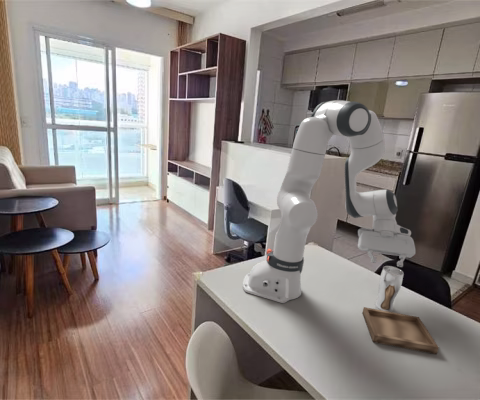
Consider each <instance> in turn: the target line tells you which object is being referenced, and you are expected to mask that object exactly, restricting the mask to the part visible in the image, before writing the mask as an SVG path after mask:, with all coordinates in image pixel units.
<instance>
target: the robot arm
mask: <svg viewBox="0 0 480 400" xmlns="http://www.w3.org/2000/svg"><path fill="white" fill-rule="evenodd" d="M333 136H342V137H343V136H344V137H348V141H349V145H350V155H349V156H348V157H347V158H346V159H345V161H344V185H345V187H344V188H345V203H344V205H345V208H344V209H345V211H346V213H347V215H349V216H350V217H352V218H354V219H358V218H364V217H372V228H367V227H361V228H359V229H358V230H357V236H358V240H357V242H358V243H357V248H358V250H360V251H364V252H367V255H368V257H369V258H370V263H373V264H376V263H377V257H375V255H374V254H373V253H375V254H382V255H391V256H397V257H398V256H399V257H398V258H399V259H400V260H398V261H396V266H397V268H398V267H399V268H403V267H404V261H405V259H406V258H412V257H413V256H415V255H416V253H417V252H416V245H415V241H414V238H413V237H412V236H411V235H412V231H411V230H410V229H408V228H406V227H403V226H401V225H399V224H398V222H397V220H396V216H397V212H398V211H399V209H398V208H399V207H398V199H397V198H398V197H397V195H396V193H394V192H393V191H391V190H390V189H378V190H377V189H376V190H371V191H364V192H363V191H362V192H359V191H357V176H359V174H360V173H362V172H364V171H365V170H367V169H370V168H371V167H373V166H375V165H376V164H377V163H378V162H380V160H381V159H382V158H383V157H384V156H385V152H386V144H385V137H384V133H383V129H382V125H381V123H380V120H379V118H378V116H377V114H376V113H375V112H374V111H373V110H370V109H368V107H367V106H366V105H364V103H361V102H358V101H354V100H353V101H349V100H343V99H336V100H326V101H325V100H324V101H323V102H320V103H319V104H318V105H317V106H316V107H315V108H314V109H313V111H312V113H311V115H310V116H309V117H306V118H305V119H303V120H302V121H301V122H300V124H299V127H298V129H297V132H296V134H295V138H294V140H293V144H292V148H291V152H290V156H289V157H290V158H289V161H288V166H287V170H286V172H285V175H284V178H283V181H282V183H281V187H280V189H279V191H278V192H277V193H278V194H277V196H276V202H277V203H276V204H277V207H278V209H279V211H280V213H281V218H280V223H279V226H278V229H277V231H276V233H275V238H274V243H273V250H272V249H271V248H268V249H266V259H265V260H262V261H260V262H258V263H256V264H254V265H253V267H252V268H251V270H250V272H248V273H246V274H245V276H243V277H244V278H243V280H242V289H243V290H244V292H246V293H248V294H251V295H255V296H258V297H260V298H264V299H268V300H271V301H274V302H278V303H281V304H285V303H287V302H289V301H290V300H294V299H297V298H299V297H301V295H302V292H303V291H302V283H301V282H302V281H301V277H302V276H301V275H302V274H301V273H302V272H303V268H304V261H305V259H304V253H305V246H306V242H307V238H308V235H309V233H310V231H311V228H312V227H313V226H314V225H315V224H316V222H317V220H318V217H319V213H318V209H317V206H316V203H315V201H314V200H313V199H311V191H312V190H313V188H314V185H315V184H316V182H317V181H318V179H320V176H321V173H322V169H323V166H324V161H325V157H326V153H327V148H328V144H329V141H330V140H331V138H332V137H333Z"/></svg>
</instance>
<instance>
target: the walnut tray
mask: <svg viewBox="0 0 480 400" xmlns="http://www.w3.org/2000/svg"><path fill="white" fill-rule="evenodd" d="M361 314H362V316H363V318H364V322H365V324H366V328H367V330H368V332H369V335H370V338H371V342H372V343H375V344H382V345H386V346H392V347H396V348H400V349H401V348H402V349H407V350H410V351H416V352H422V353H425V354H433V355H437V353H438V351H439V349H440V347H439V345H438V344H437V342H436V341H435V339H434V338H433V336H432V335H431V333H430V332H429V330H428V329H427V326H425V324H424V323H423V321H422V320H421V318H420V317H419V316H415V315H409V314H404V313H398V312H394V311H391V312H388V311H382V310H380V309H378V308H377V309H376V308H370V307H364V306H363V308H362V313H361Z"/></svg>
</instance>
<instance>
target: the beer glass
mask: <svg viewBox="0 0 480 400" xmlns="http://www.w3.org/2000/svg"><path fill="white" fill-rule="evenodd" d="M404 275H405V274H404V271H403V270H402V269H400V268H398V267H396V266H392V265H385V266H383V267H382V270H381V273H380V277H379V282H378V294H377V298H376V300H375V301H374V306H375V307H376V308H377V310H382V311H388V312H394V311H393V310H394V302H395V299H396V298H397V296H398V294H399V292H400V289H401V286H402V284H403V280H404V279H403V278H404Z"/></svg>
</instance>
